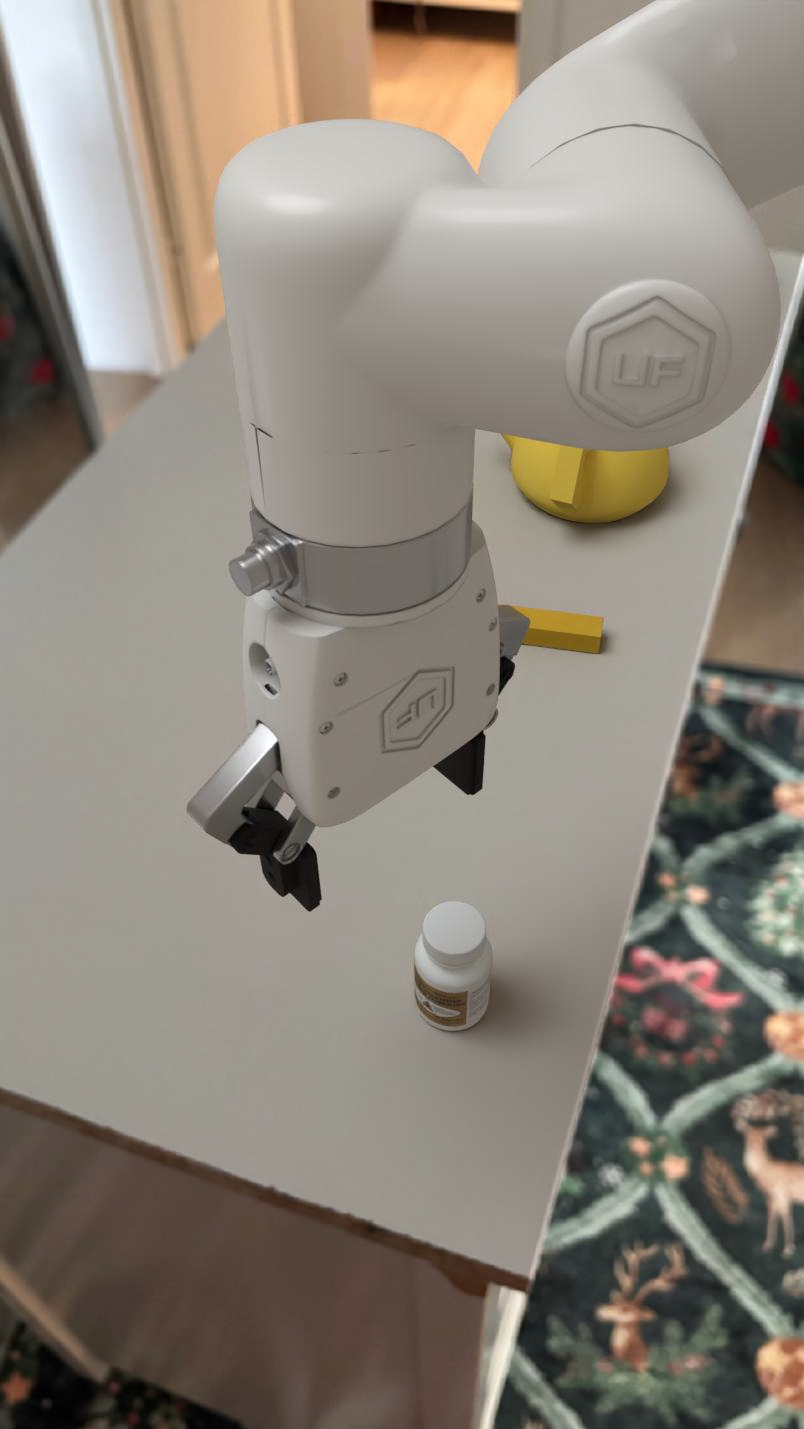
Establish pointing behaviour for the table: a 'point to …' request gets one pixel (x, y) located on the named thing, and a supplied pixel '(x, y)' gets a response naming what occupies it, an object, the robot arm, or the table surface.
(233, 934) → the table surface
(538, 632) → the knife
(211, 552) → the table surface
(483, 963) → the pill bottle
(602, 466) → the teapot
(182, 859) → the table surface
